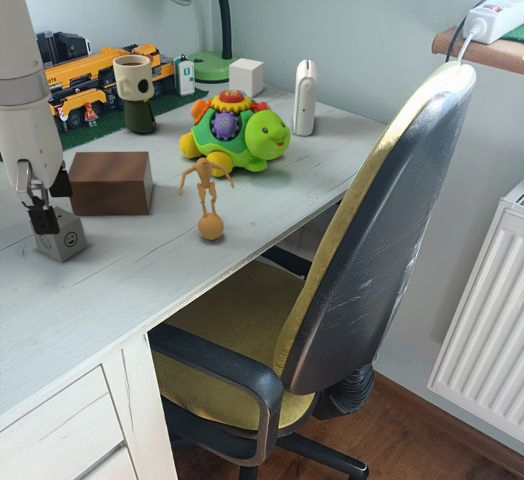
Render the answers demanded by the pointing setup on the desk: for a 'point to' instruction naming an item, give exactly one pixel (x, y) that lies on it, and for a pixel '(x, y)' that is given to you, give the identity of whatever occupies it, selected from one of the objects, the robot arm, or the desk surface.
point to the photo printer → (305, 97)
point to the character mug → (135, 91)
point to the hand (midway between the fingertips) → (55, 214)
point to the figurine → (209, 222)
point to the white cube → (246, 76)
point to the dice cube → (62, 236)
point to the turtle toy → (235, 132)
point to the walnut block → (111, 183)
